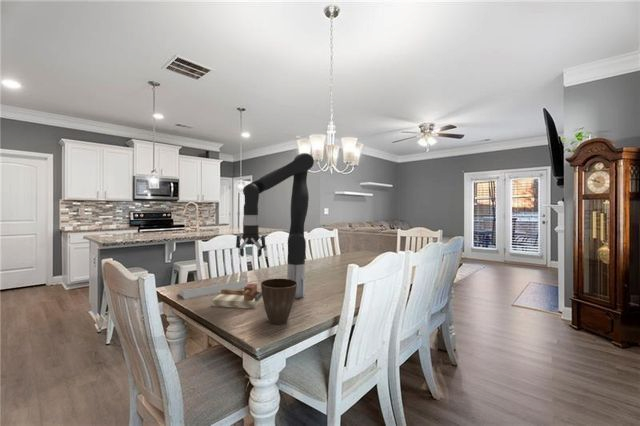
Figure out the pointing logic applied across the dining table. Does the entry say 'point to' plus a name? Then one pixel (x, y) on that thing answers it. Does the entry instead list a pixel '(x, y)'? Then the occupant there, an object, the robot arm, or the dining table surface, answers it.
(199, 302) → the dining table surface
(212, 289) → the decorative molding
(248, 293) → the reddish-brown block with stick
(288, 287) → the plant pot
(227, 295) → the board
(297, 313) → the dining table surface
